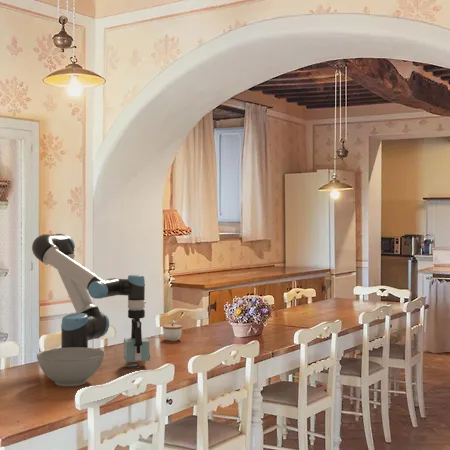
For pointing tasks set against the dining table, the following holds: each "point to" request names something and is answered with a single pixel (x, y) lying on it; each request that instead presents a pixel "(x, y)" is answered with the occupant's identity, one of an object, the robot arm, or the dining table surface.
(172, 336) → the lidded jar
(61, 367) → the decorative bowl
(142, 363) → the ball
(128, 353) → the rounded blue-grey cube
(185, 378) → the dining table surface
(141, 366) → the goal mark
